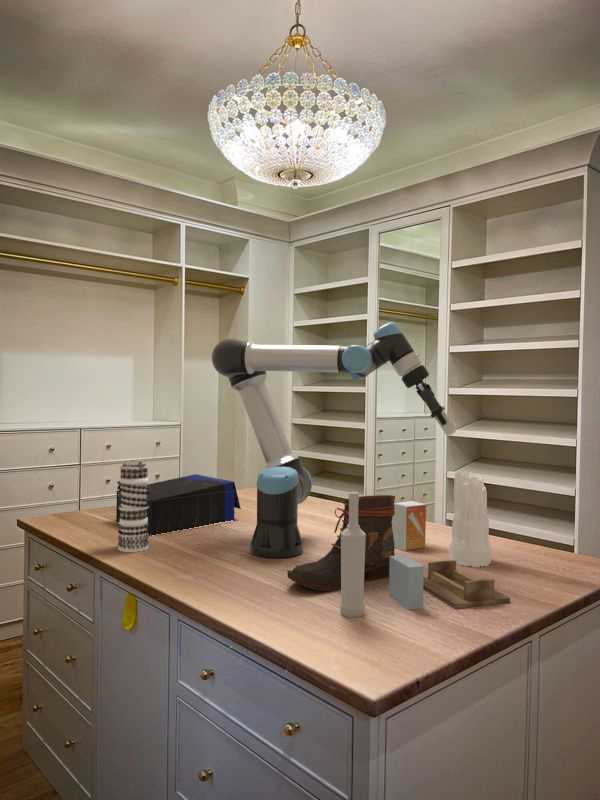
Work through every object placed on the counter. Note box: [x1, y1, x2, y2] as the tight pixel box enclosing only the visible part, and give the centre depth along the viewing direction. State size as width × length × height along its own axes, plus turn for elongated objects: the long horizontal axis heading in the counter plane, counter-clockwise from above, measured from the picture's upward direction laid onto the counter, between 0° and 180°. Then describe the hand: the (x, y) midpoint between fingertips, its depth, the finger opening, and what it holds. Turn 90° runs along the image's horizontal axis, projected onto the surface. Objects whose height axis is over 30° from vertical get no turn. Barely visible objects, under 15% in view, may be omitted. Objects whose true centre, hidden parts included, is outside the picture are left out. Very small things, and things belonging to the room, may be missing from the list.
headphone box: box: [115, 473, 242, 536], centre depth 207 cm, size 25×35×14 cm
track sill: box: [423, 559, 511, 610], centre depth 137 cm, size 14×18×5 cm
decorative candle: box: [117, 460, 150, 553], centre depth 171 cm, size 9×9×25 cm
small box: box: [392, 500, 427, 552], centre depth 177 cm, size 8×6×13 cm
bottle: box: [339, 491, 366, 618], centre depth 123 cm, size 5×5×25 cm
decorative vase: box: [448, 469, 492, 568], centre depth 162 cm, size 11×11×25 cm
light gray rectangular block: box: [388, 554, 425, 611], centre depth 130 cm, size 4×9×9 cm, turn 18°
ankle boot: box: [286, 494, 396, 593], centre depth 145 cm, size 11×31×20 cm, turn 122°
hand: (451, 432), depth 171 cm, fingers open, 13 cm apart
